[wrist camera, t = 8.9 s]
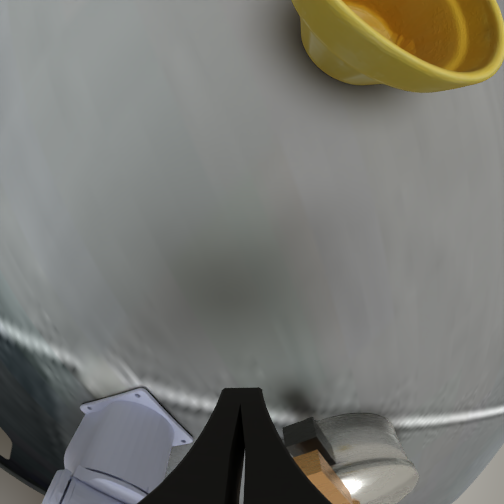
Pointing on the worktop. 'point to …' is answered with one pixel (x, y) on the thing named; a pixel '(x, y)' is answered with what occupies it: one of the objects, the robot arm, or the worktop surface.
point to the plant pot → (404, 41)
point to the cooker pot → (345, 439)
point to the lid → (360, 479)
